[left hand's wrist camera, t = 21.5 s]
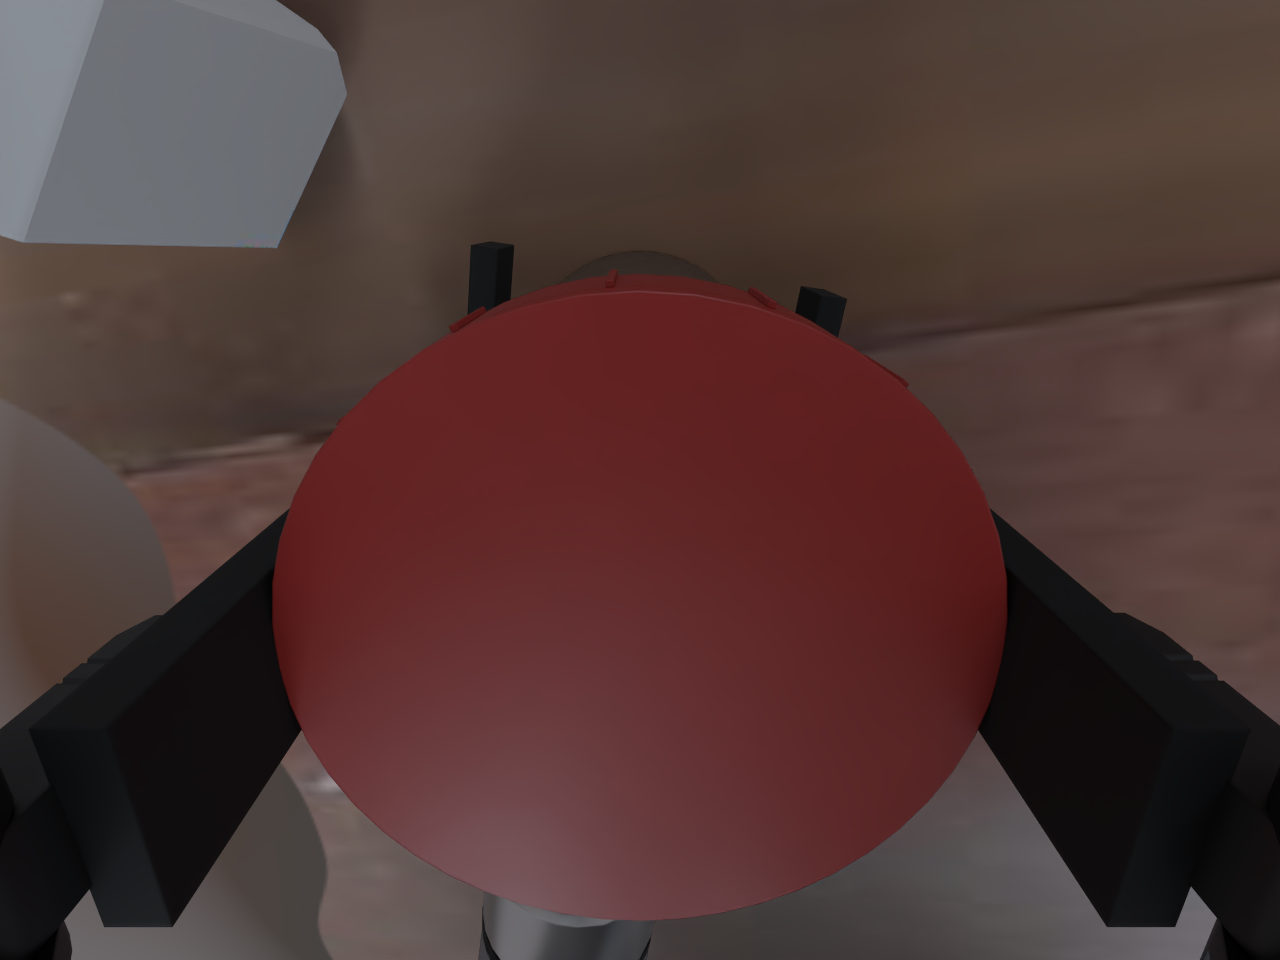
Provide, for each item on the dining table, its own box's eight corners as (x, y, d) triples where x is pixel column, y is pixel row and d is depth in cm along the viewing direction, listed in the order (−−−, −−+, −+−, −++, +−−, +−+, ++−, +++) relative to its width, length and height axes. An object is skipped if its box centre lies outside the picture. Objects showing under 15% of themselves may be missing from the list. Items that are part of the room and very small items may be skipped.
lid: (596, 887, 15) (588, 1005, 13) (210, 534, 12) (112, 609, 10) (1047, 628, 13) (1133, 716, 10) (706, 114, 10) (726, 85, 7)
